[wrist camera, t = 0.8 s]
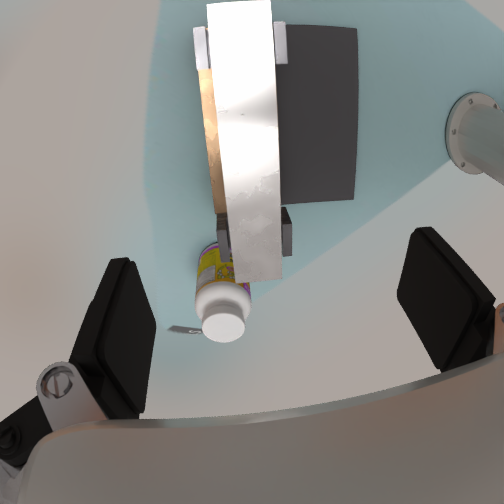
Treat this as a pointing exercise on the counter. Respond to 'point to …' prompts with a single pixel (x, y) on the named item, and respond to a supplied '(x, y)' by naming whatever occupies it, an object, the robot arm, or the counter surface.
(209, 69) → the rail stand
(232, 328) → the supplement bottle
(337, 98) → the mat
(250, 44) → the rail
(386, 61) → the counter surface
